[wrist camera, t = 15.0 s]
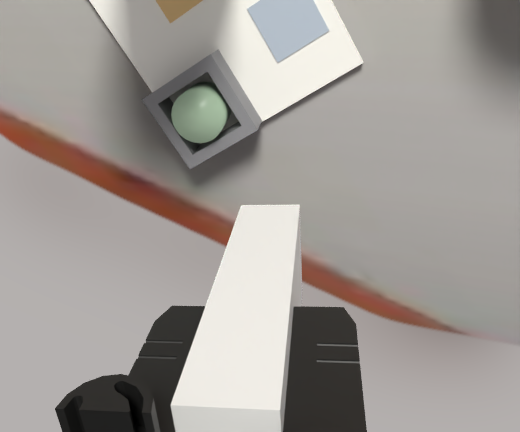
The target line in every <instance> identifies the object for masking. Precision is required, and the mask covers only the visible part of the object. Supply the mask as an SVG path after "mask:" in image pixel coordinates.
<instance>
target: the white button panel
mask: <svg viewBox="0 0 520 432" xmlns="http://www.w3.org/2000/svg"><path fill="white" fill-rule="evenodd" d="M89 1H90V2H91V4H92V5H93V6H94V8H95V9H96V11H97V12H98V14H99V15H100V17H101V18H102V20H103V21H104V23H105V24H106V25H107V27H108V28H109V30H110V31H111V33H112V34H113V36H114V37H115V39H116V40H117V42H118V43H119V45H120V46H121V47H122V49H123V50H124V52H125V53H126V55H127V56H128V58H129V59H130V61H131V62H132V64H133V65H134V67H135V68H136V69H137V71H138V72H139V74H140V75H141V77H142V78H143V80H144V81H145V83H146V84H147V86H148V87H149V89H150V90H151V91H152V93H151V94H150V95H148V96H147V97H145V98H144V99H142V101H143V103H144V104H145V105H146V107H147V108H148V110H149V111H150V113H151V114H152V115H153V117H154V118H155V120H156V121H157V123H158V124H159V126H160V127H161V128H162V130H163V131H164V133H165V134H166V136H167V137H168V139H169V140H170V141H171V143H172V144H173V146H174V147H175V149H176V150H177V151H178V153H179V154H180V156H181V157H182V159H183V160H184V162H185V163H186V164H187V166H188V167H189V169H192V168H193V167H195V166H197V165H199V164H200V163H202V162H204V161H206V160H207V159H209V158H211V157H212V156H214V155H216V154H218V153H219V152H221V151H223V150H224V149H226V148H228V147H230V146H231V145H233V144H235V143H237V142H238V141H240V140H242V139H243V138H245V137H247V136H249V135H250V134H252V133H254V132H255V131H257V130H258V129H259V126H260V124H261V122H263V121H265V120H266V119H268V118H270V117H271V116H273V115H275V114H276V113H278V112H280V111H282V110H283V109H285V108H287V107H288V106H290V105H292V104H294V103H295V102H297V101H299V100H300V99H302V98H304V97H306V96H307V95H309V94H311V93H312V92H314V91H316V90H318V89H319V88H321V87H323V86H324V85H326V84H328V83H329V82H331V81H333V80H335V79H336V78H338V77H340V76H341V75H343V74H345V73H347V72H348V71H350V70H352V69H353V68H355V67H357V66H359V65H360V64H362V63H364V62H363V60H362V58H361V56H360V54H359V52H358V51H357V49H356V47H355V45H354V43H353V41H352V39H351V37H350V35H349V33H348V31H347V29H346V27H345V25H344V23H343V21H342V19H341V17H340V15H339V14H338V12H337V10H336V8H335V6H334V4H333V2H332V0H89ZM199 82H212V83H215V84H216V86H217V88H218V89H219V91H220V92H221V94H222V95H223V97H224V99H225V100H226V102H227V103H228V105H229V107H230V108H231V115H230V118H229V120H228V121H227V123H226V124H225V126H224V127H223V129H222V130H221V132H220V133H219V135H218V136H217V137H216V138H214V139H213V140H211V141H209V142H206V143H194V142H191V141H188V140H186V139H185V138H183V137H182V136H181V135H180V134H179V133H178V132H177V130H176V129H175V127H174V125H173V122H172V116H171V113H172V107H173V104H174V102H175V101H176V99H177V98H178V97H179V96H180V95H181V94H183V93H184V92H185V91H186V90H188V89H189V88H190V87H191V86H193V85H194V84H196V83H199Z"/></svg>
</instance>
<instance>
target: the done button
mask: <svg viewBox="0 0 520 432" xmlns="http://www.w3.org/2000/svg"><path fill="white" fill-rule="evenodd" d="M230 115H231V108H230V107H229V105H228V103H227V102H226V100H225V99H224V97H223V95H222V94H221V92H220V91H219V89H218V88H217V86H216V84H215V83H212V82H199V83H196V84H194V85H193V86H191V87H190V88H189V89H188V90H186V91H185V92H184V93H183V94H181V95H180V96H179V97H178V98H177V99H176V101H175V102H174V104H173V107H172V113H171V116H172V122H173V125H174V127H175V129H176V130H177V132H178V133H179V134H180V135H181V136H182V137H183V138H185V139H186V140H188V141H191V142H194V143H206V142H209V141H211V140H213V139H214V138H216V137H217V136H218V135H219V133H220V132H221V130H222V129H223V127H224V126H225V124H226V123H227V121H228V120H229V118H230Z"/></svg>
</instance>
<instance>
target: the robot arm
mask: <svg viewBox="0 0 520 432" xmlns="http://www.w3.org/2000/svg"><path fill="white" fill-rule="evenodd" d="M301 304H302V268H301V232H300V205H241V208H240V210H239V213H238V216H237V219H236V222H235V224H234V227H233V230H232V233H231V236H230V239H229V241H228V244H227V247H226V250H225V253H224V256H223V258H222V261H221V264H220V267H219V270H218V272H217V275H216V278H215V281H214V284H213V287H212V289H211V293H210V295H209V298H208V301H207V303H206V306H171V307H170V308H169V309H168V310H167V311H166V312H165V313H163V314H162V315H161V316H160V317H159V318H158V319H157V320H156V321H155V322H154V324H153V326H152V328H151V330H150V332H149V334H148V336H147V339H146V343H144V345H143V347H142V349H141V351H140V353H139V357H138V359H136V361H135V363H134V365H133V367H132V369H131V371H130V374H129V375H128V376H127V375H122V374H119V375H109V376H102V377H99V378H96V379H94V380H91V381H88V382H85V383H83V384H82V385H81V386H79V387H77V388H76V389H75V390H73V391H71V392H70V393H68V394H67V395H66V396H65V398H64V399H63V400H62V401H61V402H60V403H59V405H58V406H57V407H56V408H55V410H56V413H57V416H58V419H59V422H60V425H61V428H62V432H367V430H366V421H365V410H364V401H363V391H362V381H361V371H360V363H359V350H358V340H357V330H356V324H355V322H354V321H353V319H352V318H351V317H350V315H349V314H348V313H347V311H346V310H345V309H344V308H343V307H301V306H302V305H301Z"/></svg>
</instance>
